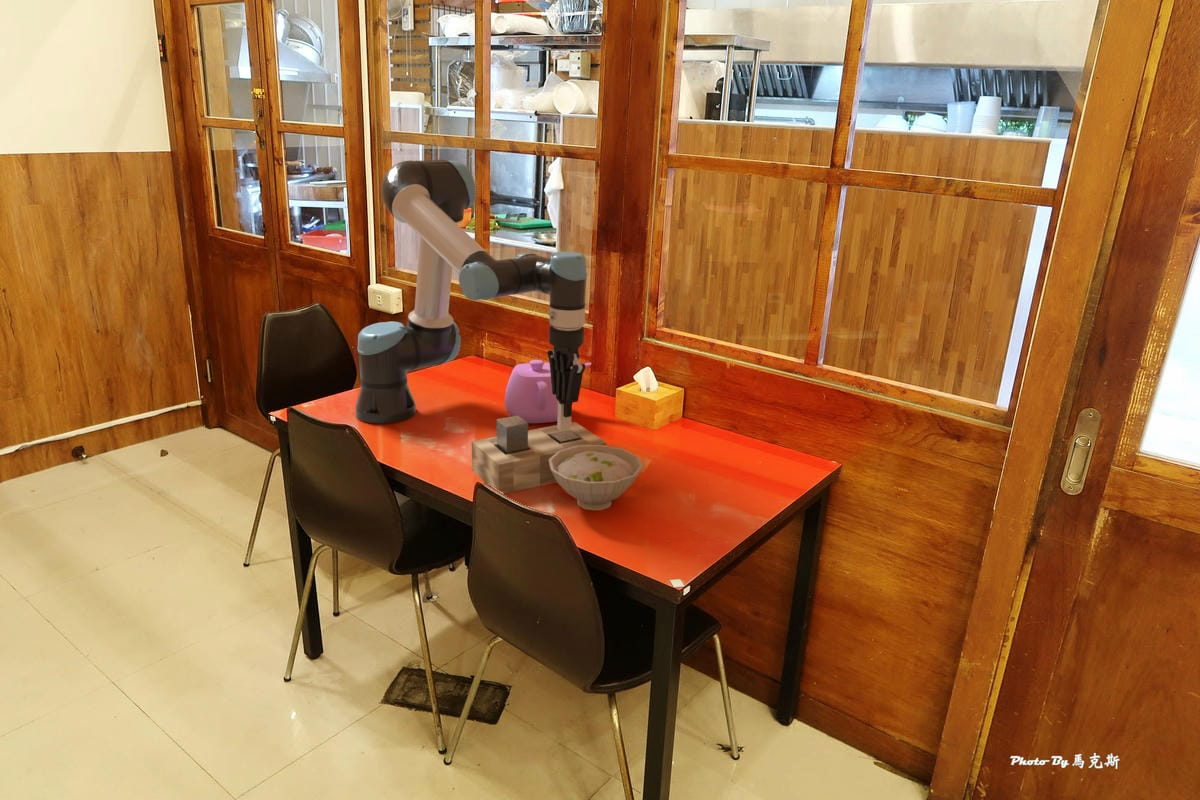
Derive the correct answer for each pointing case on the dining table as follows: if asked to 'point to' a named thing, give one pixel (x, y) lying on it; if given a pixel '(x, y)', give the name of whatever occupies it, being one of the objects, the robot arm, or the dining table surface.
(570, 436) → the far peg
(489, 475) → the socket block
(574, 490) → the bowl
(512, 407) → the teapot
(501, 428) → the near peg
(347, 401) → the dining table surface
